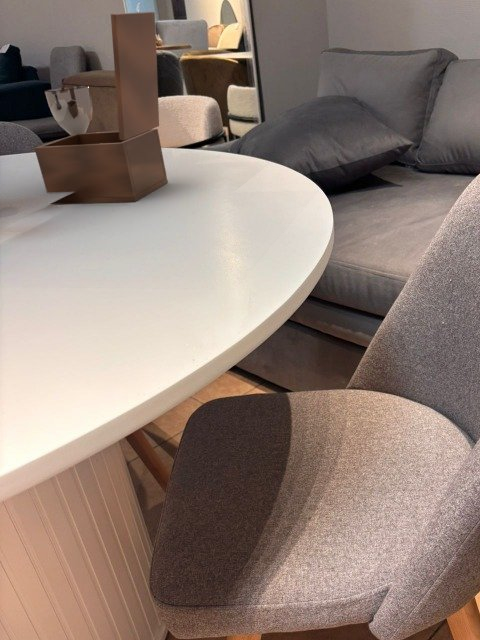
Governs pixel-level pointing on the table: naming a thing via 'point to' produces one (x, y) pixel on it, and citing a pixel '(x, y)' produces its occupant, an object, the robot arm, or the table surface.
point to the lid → (135, 72)
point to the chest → (102, 167)
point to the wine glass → (71, 108)
